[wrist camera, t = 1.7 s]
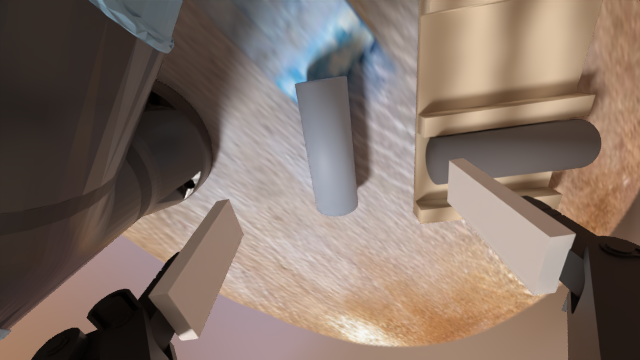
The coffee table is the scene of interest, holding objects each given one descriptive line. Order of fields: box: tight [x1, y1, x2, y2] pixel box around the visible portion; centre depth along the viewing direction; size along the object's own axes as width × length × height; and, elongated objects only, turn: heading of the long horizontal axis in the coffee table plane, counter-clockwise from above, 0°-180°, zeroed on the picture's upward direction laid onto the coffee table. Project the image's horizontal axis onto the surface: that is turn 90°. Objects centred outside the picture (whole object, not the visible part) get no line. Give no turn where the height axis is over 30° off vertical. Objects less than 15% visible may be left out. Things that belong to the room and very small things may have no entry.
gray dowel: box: [295, 76, 358, 216], centre depth 26 cm, size 14×5×5 cm, turn 8°
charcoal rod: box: [425, 119, 601, 185], centre depth 25 cm, size 14×5×5 cm
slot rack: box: [413, 0, 603, 224], centre depth 25 cm, size 16×24×3 cm, turn 8°
